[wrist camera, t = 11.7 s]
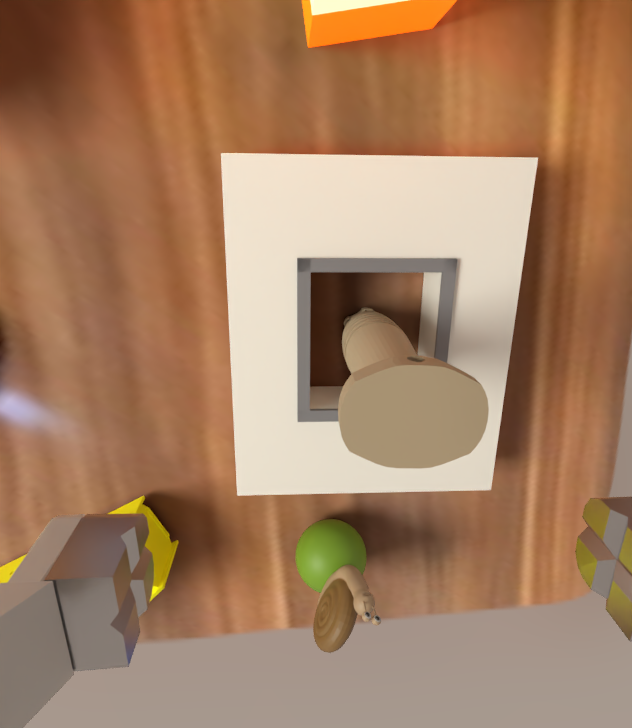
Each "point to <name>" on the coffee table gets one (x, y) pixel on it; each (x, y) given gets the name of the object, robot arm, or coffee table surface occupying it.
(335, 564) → the snail figurine
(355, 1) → the orange juice
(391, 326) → the handle
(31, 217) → the coffee table surface
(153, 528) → the yellow toy chassis
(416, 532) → the coffee table surface
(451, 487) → the socket board
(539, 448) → the coffee table surface
